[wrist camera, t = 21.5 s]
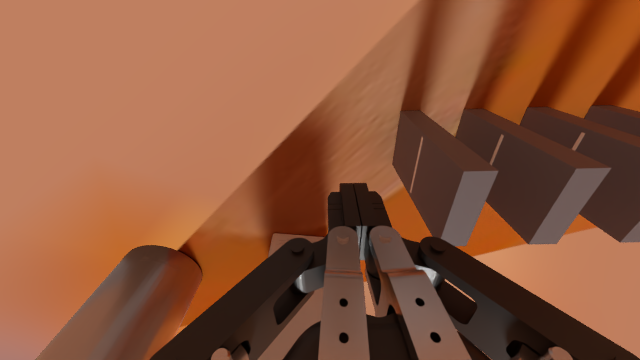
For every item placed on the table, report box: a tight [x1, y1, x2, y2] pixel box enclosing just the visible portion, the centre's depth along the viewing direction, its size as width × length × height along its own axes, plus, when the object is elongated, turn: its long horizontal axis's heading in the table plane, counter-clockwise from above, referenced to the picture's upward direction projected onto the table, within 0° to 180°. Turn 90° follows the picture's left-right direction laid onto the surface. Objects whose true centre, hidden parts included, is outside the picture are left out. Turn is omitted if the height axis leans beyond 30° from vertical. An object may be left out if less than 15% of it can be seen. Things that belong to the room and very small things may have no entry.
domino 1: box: [392, 111, 498, 246], centre depth 16 cm, size 2×5×10 cm, turn 2°
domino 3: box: [520, 107, 640, 242], centre depth 16 cm, size 2×5×10 cm, turn 2°
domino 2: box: [456, 109, 611, 244], centre depth 16 cm, size 2×5×10 cm, turn 1°
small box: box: [258, 233, 325, 360], centre depth 23 cm, size 8×6×13 cm
